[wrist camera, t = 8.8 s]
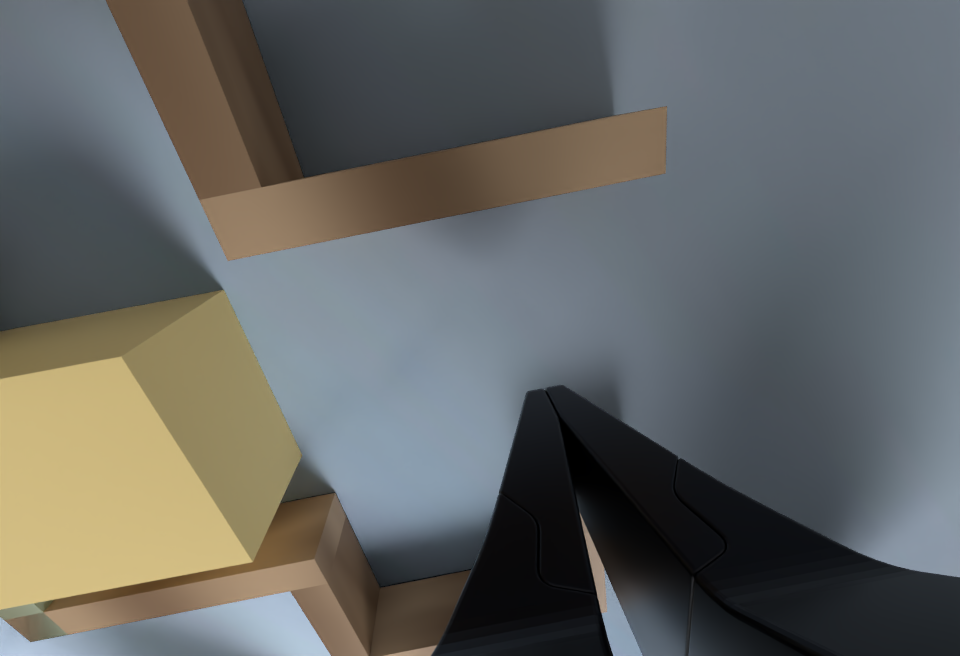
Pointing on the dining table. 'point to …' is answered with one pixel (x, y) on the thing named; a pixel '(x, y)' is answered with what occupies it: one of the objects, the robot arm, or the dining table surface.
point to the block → (134, 449)
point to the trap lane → (303, 221)
